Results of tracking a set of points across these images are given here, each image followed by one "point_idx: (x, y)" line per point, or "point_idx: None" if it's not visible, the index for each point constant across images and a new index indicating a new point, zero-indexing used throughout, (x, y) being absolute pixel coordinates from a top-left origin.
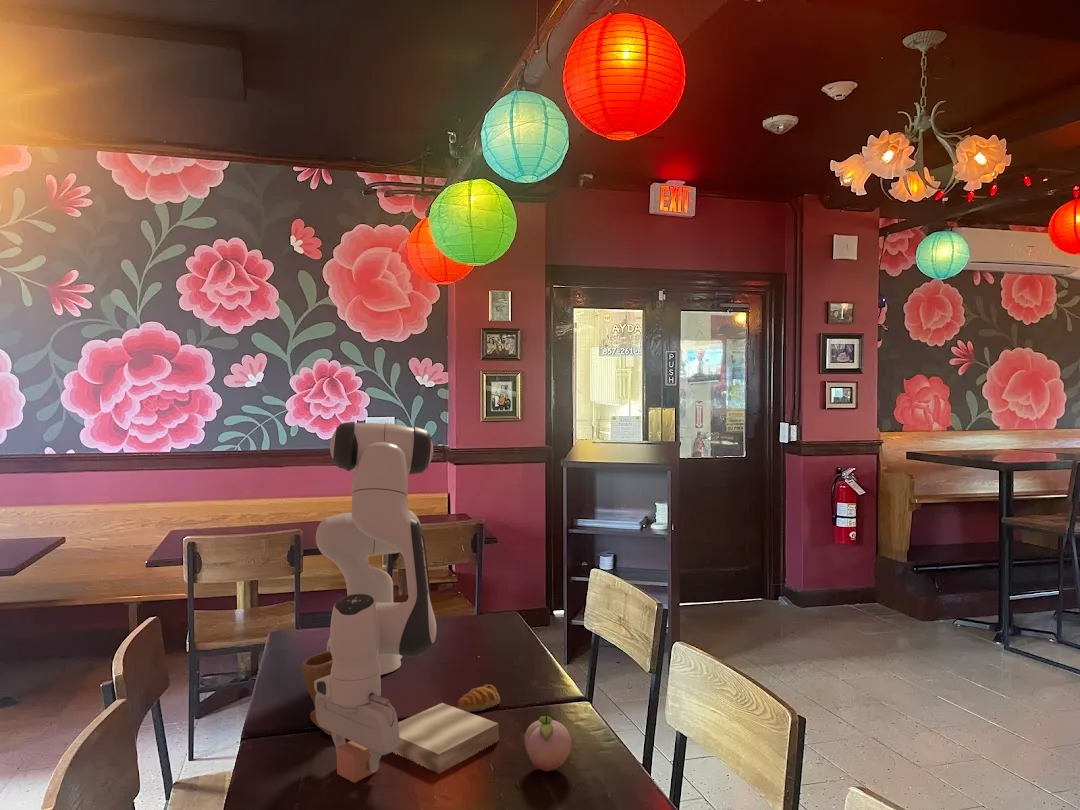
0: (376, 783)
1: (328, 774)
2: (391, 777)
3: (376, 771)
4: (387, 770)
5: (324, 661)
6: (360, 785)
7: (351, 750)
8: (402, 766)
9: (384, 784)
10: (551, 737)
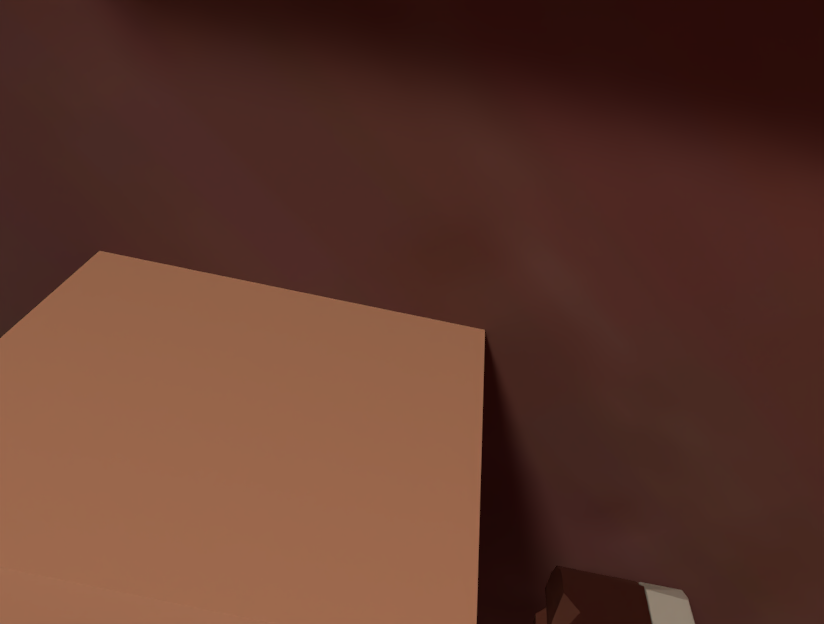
0: (668, 539)
1: None
2: (785, 373)
3: (481, 333)
4: (614, 246)
5: None
6: (517, 617)
7: None
8: (793, 30)
9: (782, 525)
10: None
